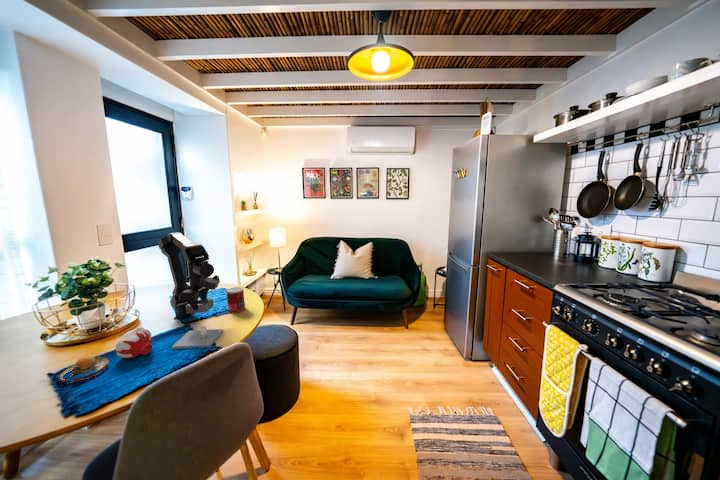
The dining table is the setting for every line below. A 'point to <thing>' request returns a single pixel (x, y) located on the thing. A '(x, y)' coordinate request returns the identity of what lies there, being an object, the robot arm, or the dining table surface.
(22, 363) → the dining table surface
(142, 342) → the red white ovoid
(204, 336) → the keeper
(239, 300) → the canned food
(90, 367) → the ringed planet model
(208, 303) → the link
